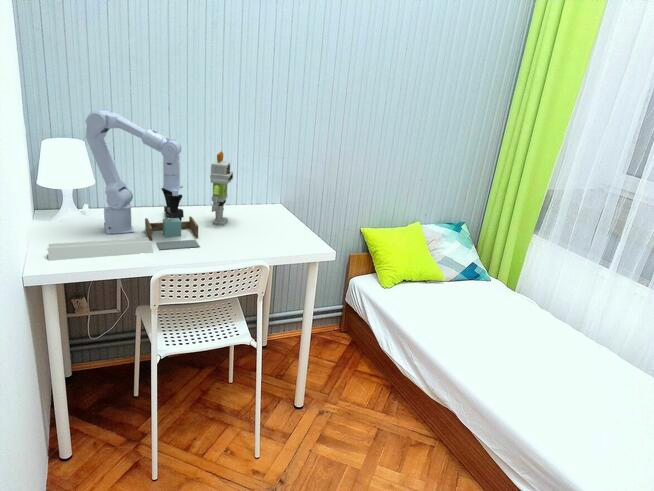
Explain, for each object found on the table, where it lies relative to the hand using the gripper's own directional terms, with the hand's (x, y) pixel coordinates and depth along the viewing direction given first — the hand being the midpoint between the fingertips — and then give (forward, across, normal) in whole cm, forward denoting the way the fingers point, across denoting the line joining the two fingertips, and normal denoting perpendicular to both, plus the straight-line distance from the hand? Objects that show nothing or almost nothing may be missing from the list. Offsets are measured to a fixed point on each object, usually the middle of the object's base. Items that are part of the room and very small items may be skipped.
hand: (171, 209), depth 178 cm
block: (+10, 0, 0) cm, 10 cm away
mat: (+10, -12, 0) cm, 15 cm away
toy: (+10, +12, -22) cm, 27 cm away
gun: (+10, +18, -4) cm, 21 cm away
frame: (+10, 0, 0) cm, 10 cm away
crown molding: (+11, -11, +25) cm, 30 cm away
